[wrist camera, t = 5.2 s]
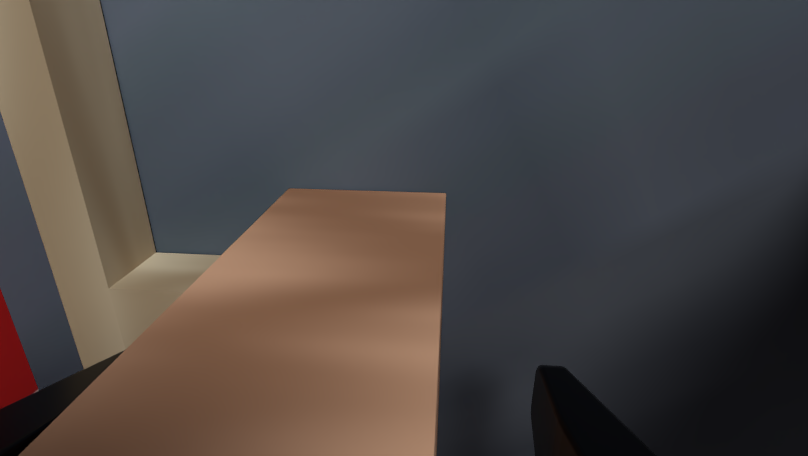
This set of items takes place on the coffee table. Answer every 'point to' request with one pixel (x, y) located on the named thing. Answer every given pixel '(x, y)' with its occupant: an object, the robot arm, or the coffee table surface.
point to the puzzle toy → (12, 362)
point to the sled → (216, 285)
